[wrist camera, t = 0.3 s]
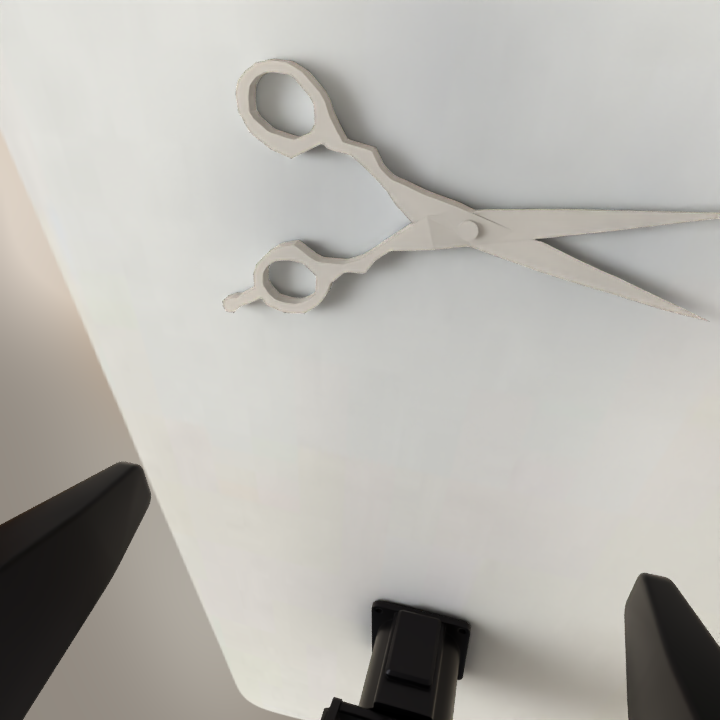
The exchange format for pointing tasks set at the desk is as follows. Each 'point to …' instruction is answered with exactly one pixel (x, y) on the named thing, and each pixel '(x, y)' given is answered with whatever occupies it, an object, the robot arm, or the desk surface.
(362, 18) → the desk surface
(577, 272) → the scissors
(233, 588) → the desk surface
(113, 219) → the desk surface
